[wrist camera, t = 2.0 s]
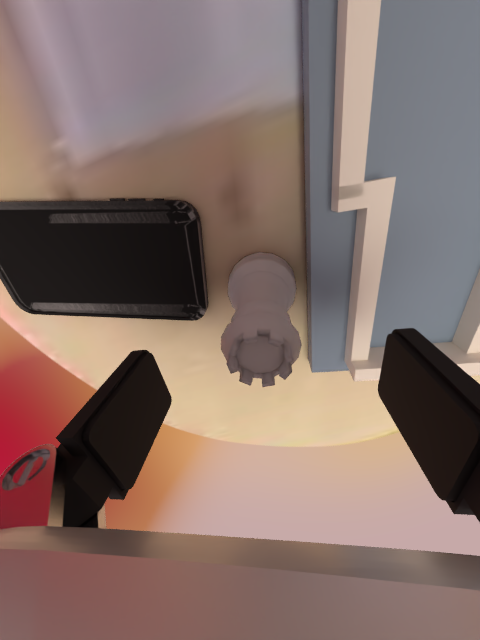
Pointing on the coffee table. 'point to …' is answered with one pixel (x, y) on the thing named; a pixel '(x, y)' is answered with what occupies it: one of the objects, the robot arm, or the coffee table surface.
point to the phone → (104, 258)
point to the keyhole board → (391, 179)
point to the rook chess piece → (261, 319)
